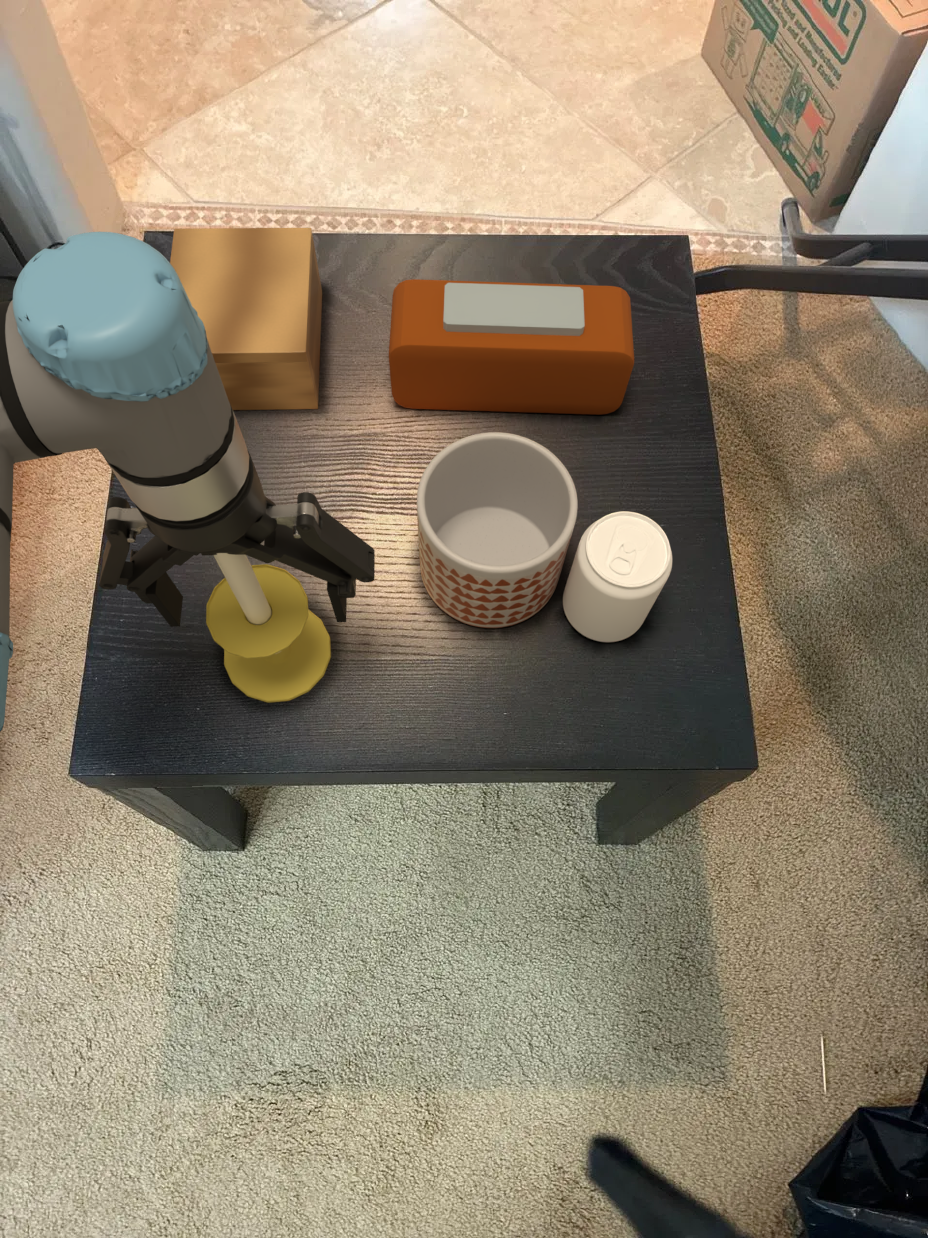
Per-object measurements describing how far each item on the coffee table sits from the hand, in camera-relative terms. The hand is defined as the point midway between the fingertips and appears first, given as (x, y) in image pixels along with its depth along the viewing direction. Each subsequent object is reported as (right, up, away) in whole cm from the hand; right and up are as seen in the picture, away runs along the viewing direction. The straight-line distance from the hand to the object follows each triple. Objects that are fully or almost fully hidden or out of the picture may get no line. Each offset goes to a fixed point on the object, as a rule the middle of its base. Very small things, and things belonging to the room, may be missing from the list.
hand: (259, 609), depth 72 cm
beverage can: (+30, 0, +12) cm, 33 cm away
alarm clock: (+21, +25, +22) cm, 39 cm away
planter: (+19, +4, +13) cm, 24 cm away
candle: (0, -4, +9) cm, 10 cm away
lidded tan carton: (-6, +29, +22) cm, 37 cm away
